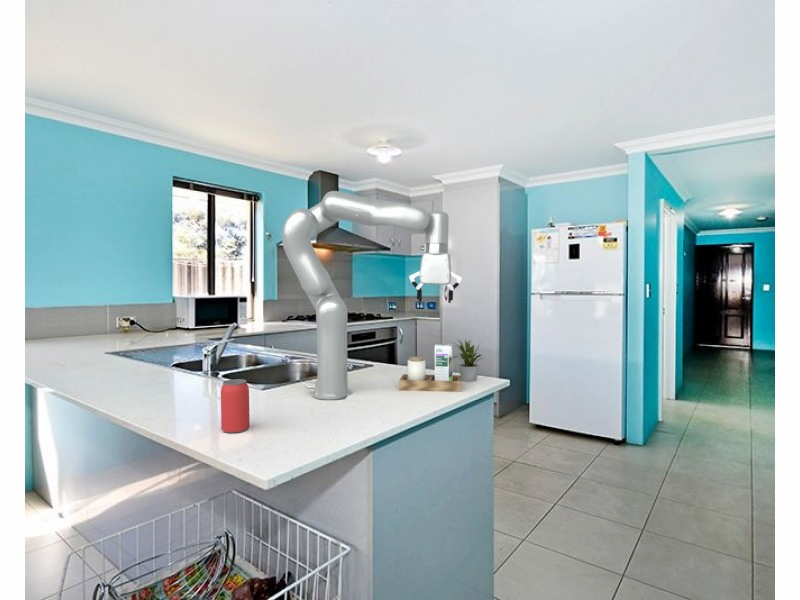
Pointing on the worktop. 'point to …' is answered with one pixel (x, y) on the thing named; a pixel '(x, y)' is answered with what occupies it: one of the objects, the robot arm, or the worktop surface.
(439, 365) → the syrup box
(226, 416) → the beer can
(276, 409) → the worktop surface
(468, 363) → the house plant
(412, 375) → the ceramic jar
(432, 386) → the wooden tray
